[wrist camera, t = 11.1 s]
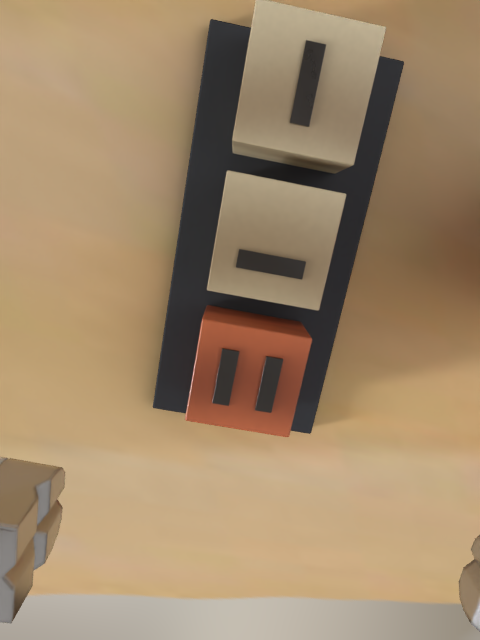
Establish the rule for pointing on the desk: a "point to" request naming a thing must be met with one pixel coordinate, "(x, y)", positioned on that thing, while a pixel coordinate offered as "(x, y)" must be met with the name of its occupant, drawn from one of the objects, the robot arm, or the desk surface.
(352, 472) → the desk surface
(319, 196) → the tile
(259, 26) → the tile
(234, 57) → the felt mat
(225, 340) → the pause symbol tile
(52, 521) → the robot arm
